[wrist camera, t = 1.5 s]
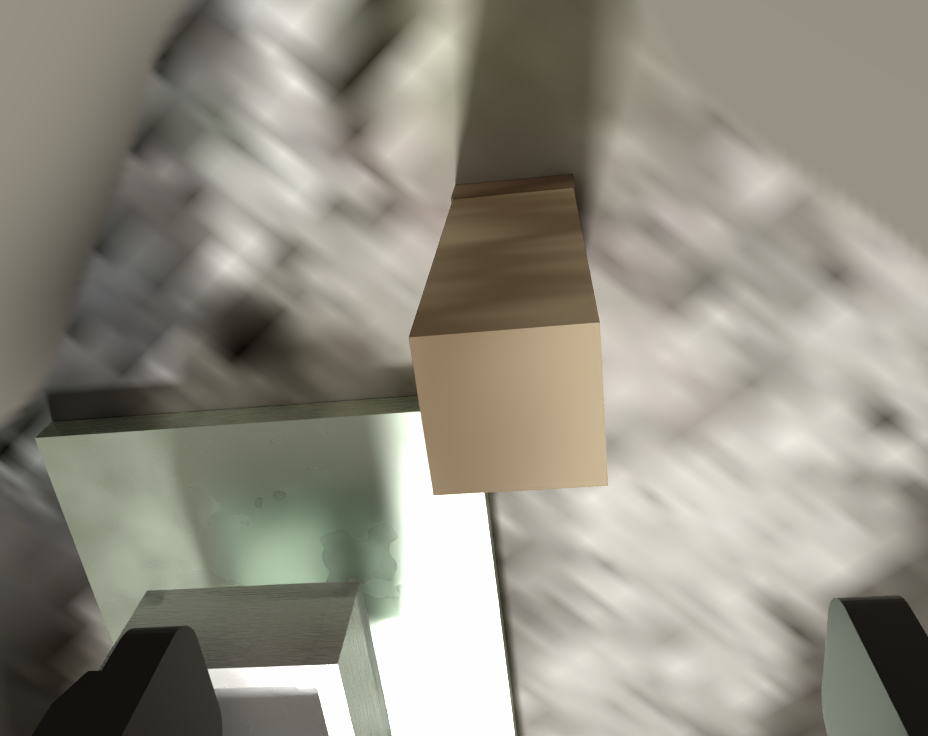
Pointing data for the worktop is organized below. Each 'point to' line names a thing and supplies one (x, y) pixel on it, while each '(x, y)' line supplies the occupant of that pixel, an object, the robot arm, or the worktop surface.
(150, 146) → the worktop surface
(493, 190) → the maple rail
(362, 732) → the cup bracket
